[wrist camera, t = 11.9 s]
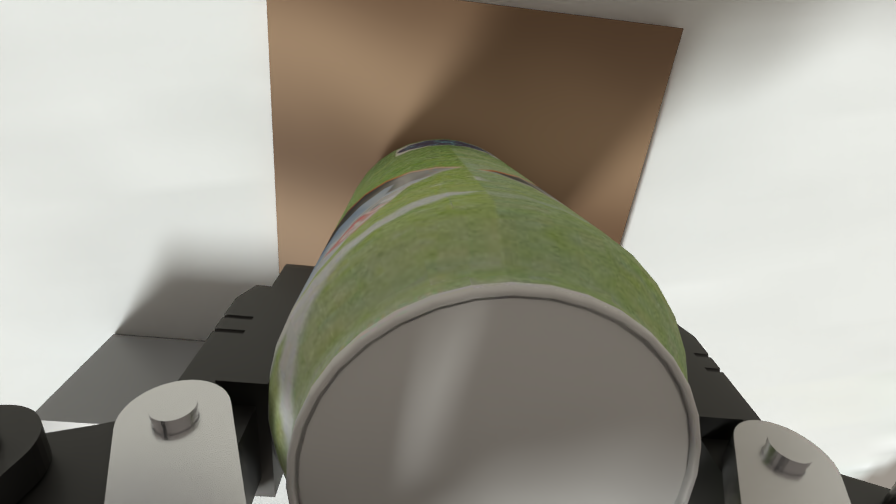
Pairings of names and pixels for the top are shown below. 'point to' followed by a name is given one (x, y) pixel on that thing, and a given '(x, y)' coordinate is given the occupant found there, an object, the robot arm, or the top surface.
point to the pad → (458, 101)
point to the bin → (116, 379)
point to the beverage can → (478, 351)
